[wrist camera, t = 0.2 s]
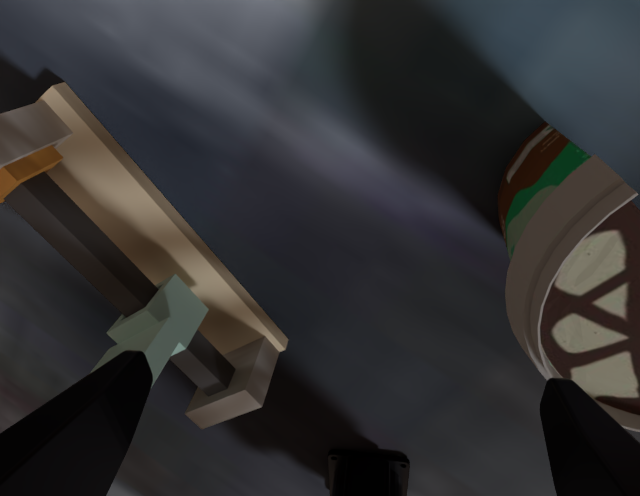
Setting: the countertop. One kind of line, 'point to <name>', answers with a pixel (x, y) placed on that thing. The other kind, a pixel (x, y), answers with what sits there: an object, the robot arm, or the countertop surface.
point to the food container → (574, 269)
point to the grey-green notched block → (159, 325)
